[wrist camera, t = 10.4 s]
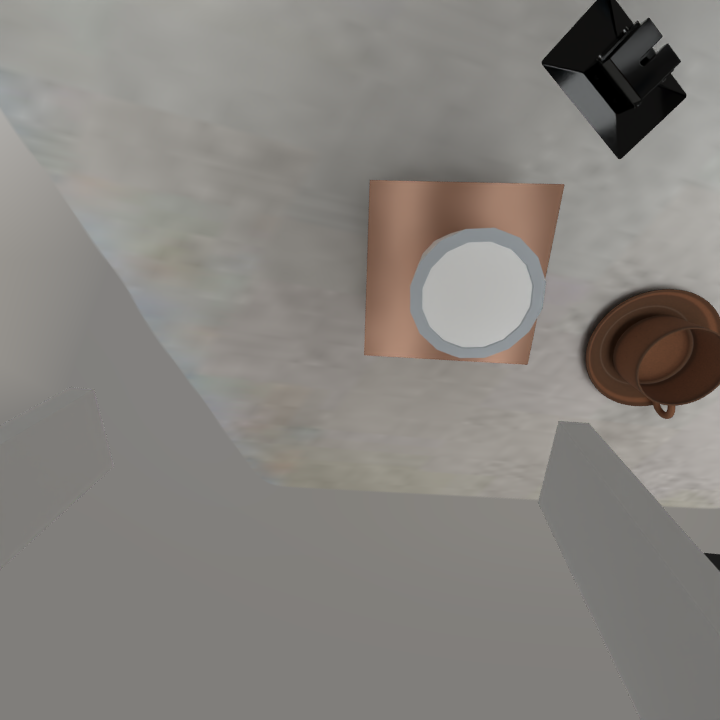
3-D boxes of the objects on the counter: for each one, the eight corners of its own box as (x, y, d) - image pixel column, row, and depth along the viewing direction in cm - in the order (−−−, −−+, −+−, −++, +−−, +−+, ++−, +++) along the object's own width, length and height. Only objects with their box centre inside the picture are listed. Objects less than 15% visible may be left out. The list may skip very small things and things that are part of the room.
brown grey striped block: (511, 192, 35) (564, 184, 23) (490, 320, 39) (527, 364, 28) (379, 188, 35) (369, 180, 24) (373, 314, 40) (364, 355, 29)
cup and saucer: (722, 364, 39) (779, 391, 33) (602, 415, 42) (635, 447, 36) (686, 261, 35) (742, 271, 30) (560, 324, 39) (588, 344, 33)
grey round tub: (493, 331, 27) (522, 369, 21) (398, 315, 27) (397, 348, 21) (522, 231, 25) (567, 239, 18) (417, 214, 25) (424, 216, 18)
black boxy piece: (698, 103, 31) (749, 86, 27) (614, 180, 34) (648, 176, 29) (600, -32, 29) (638, -76, 24) (517, 62, 31) (538, 38, 27)
